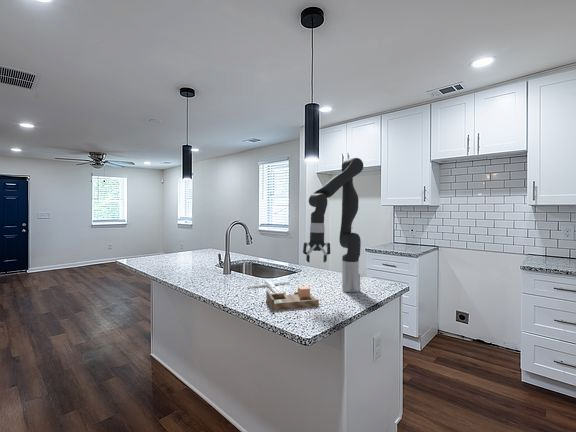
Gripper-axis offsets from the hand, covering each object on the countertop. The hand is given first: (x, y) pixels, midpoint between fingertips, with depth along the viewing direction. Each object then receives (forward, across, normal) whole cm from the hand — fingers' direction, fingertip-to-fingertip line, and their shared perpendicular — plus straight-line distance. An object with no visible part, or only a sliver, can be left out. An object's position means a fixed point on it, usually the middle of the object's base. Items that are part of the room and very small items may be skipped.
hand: (316, 262), depth 160 cm
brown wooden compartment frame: (+20, +13, +6) cm, 24 cm away
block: (+17, +6, +2) cm, 18 cm away
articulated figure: (+20, +21, -19) cm, 35 cm away
